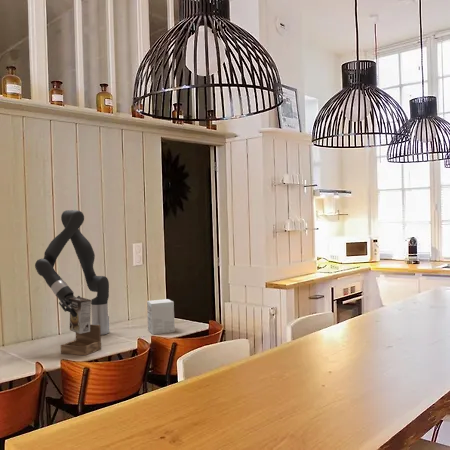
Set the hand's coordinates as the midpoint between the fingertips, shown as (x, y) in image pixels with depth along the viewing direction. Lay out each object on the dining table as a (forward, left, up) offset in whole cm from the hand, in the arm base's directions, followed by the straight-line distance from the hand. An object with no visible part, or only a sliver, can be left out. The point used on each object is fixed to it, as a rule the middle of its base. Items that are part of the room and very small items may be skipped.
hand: (81, 314), depth 242 cm
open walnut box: (0, -1, -18) cm, 18 cm away
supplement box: (-51, +16, -19) cm, 57 cm away
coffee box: (0, -1, -9) cm, 9 cm away
